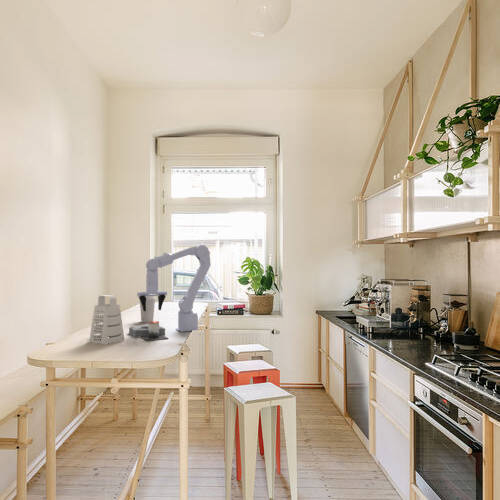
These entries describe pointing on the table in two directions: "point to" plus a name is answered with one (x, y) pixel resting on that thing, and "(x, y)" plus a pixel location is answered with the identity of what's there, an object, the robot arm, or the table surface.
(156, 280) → the robot arm
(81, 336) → the table surface
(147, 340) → the mat
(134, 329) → the housing
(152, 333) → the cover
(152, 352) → the table surface
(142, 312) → the coffee cup
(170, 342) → the table surface
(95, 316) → the grater
